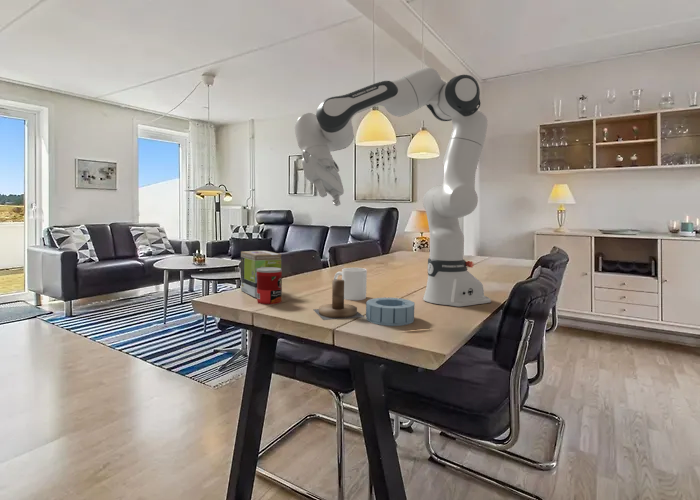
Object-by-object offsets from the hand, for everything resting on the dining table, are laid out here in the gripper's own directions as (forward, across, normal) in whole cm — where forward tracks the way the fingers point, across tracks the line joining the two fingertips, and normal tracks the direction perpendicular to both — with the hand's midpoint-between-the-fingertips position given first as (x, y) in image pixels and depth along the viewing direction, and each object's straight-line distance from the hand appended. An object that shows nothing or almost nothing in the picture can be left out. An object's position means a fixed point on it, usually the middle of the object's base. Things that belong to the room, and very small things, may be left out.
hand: (330, 200), depth 125 cm
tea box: (+13, +17, +42) cm, 47 cm away
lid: (+32, +3, +10) cm, 33 cm away
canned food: (+20, +6, +33) cm, 39 cm away
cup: (+25, +24, +13) cm, 37 cm away
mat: (+32, +3, +10) cm, 34 cm away
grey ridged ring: (+39, +4, -4) cm, 39 cm away
